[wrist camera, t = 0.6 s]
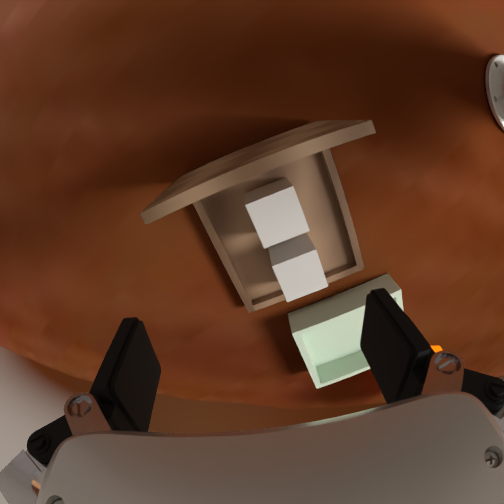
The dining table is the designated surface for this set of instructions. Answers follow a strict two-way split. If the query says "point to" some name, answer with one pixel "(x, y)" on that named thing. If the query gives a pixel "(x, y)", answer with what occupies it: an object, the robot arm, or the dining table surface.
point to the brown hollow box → (262, 173)
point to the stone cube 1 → (276, 212)
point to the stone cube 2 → (297, 267)
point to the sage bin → (336, 332)
